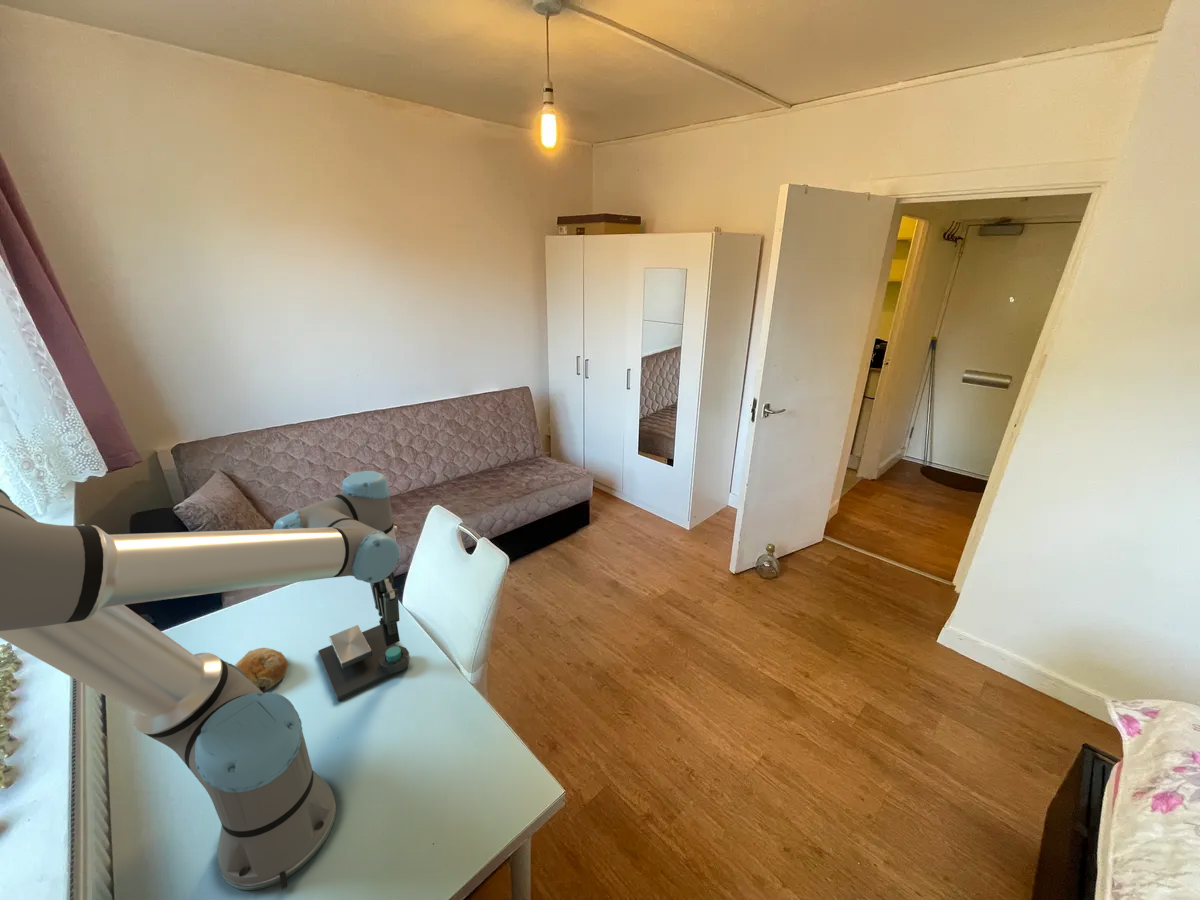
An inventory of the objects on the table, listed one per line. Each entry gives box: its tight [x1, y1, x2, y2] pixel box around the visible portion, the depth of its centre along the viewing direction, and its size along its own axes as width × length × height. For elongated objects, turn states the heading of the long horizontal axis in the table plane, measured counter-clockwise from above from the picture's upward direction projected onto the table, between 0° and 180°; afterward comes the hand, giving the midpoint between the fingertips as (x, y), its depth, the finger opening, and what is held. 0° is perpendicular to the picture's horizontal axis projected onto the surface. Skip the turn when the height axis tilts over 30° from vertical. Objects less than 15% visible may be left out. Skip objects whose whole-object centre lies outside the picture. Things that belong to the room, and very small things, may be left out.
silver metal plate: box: [328, 624, 372, 669], centre depth 107 cm, size 10×6×2 cm, turn 40°
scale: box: [318, 624, 411, 702], centre depth 107 cm, size 17×15×3 cm
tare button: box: [386, 645, 401, 663], centre depth 105 cm, size 3×3×2 cm
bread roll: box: [234, 647, 288, 693], centre depth 102 cm, size 10×10×8 cm
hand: (392, 641), depth 104 cm, fingers closed
